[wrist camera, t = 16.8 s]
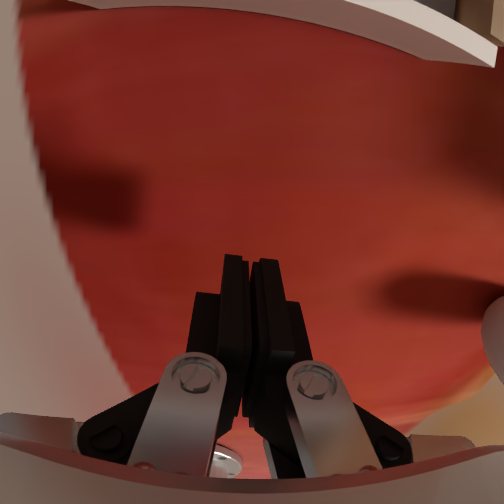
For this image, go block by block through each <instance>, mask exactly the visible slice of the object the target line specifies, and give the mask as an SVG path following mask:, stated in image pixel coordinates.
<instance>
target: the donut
mask: <svg viewBox="0 0 504 504" xmlns="http://www.w3.org/2000/svg"><path fill="white" fill-rule="evenodd" d="M481 337H482V342H483V347H484V351H485V353H486V355H487V358H488V360H489V362H490V365H491V366H492V368H493V370H494V371H495V373H496V374H497V376H498V377H499V379H500V381H501V382H502V383H503V384H504V296H502V297H500V298H498V299H496V300H495V301H494V302H493V303H492V304H491V305H490V306H489V307H488V308H487V309H486V311H485V313H484V317H483V322H482V327H481Z"/></svg>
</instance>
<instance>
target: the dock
mask: <svg viewBox="0 0 504 504" xmlns="http://www.w3.org/2000/svg"><path fill="white" fill-rule="evenodd" d="M453 20H454V21H456V22H458V23H460V24H461V25H463V26H465V27H467V28H468V29H470V30H472V31H473V32H475V33H477V34H478V35H480V36H482V37H483V38H485V39H486V40H488V41H489V42H491V43H492V44H494V45H495V46H501V47H504V0H456V3H455V12H454V19H453Z"/></svg>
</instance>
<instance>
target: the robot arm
mask: <svg viewBox="0 0 504 504" xmlns="http://www.w3.org/2000/svg"><path fill="white" fill-rule="evenodd" d="M241 398H242V416H243V417H249V427H254V430H255V431H256V432H257V433H258V434H260V435H261V436H262V437H263V446H264V450H265V454H266V458H267V462H268V466H269V470H270V474H271V478H272V479H233V478H232V477H234V476H236V475H238V474H239V473H240V472H241V470H242V460H241V458H240V457H239V456H238V455H237V454H236V453H234V452H233V451H231V450H229V449H227V448H225V447H222V446H219V445H217V439H218V438H220V437H221V436H223V435H224V434H225V433H227V432H228V431H229V430H231V428H232V423H233V419H234V417H237V415H238V411H239V407H240V403H241ZM0 504H504V445H489V446H483V447H475V445H474V444H473V443H472V442H471V440H469V439H467V438H466V437H462V436H434V435H433V436H432V435H413V434H411V435H410V436H409V437H405V436H404V435H403V434H402V433H400V432H399V431H398V430H396V429H394V428H393V427H391V426H389V425H388V424H386V423H385V422H383V421H381V420H380V419H378V418H377V417H375V416H374V415H372V414H370V413H369V412H367V411H366V410H364V409H363V408H361V407H360V406H358V405H356V404H355V403H353V402H352V400H351V398H350V396H349V394H348V392H347V389H346V387H345V385H344V383H343V381H342V379H341V377H340V376H339V374H338V373H337V372H336V371H335V370H334V369H333V368H332V367H330V366H328V365H326V364H325V363H322V362H318V361H313V358H312V353H311V349H310V344H309V340H308V336H307V332H306V327H305V323H304V319H303V315H302V311H301V306H300V304H299V302H294V301H286V299H285V293H284V288H283V283H282V278H281V273H280V268H279V263H278V260H274V259H265V258H260V261H259V262H253V265H252V271H251V276H250V282H249V262H248V261H242V256H238V255H230V254H225V258H224V266H223V274H222V283H221V291H220V294H212V293H203V292H196V296H195V302H194V307H193V313H192V319H191V325H190V331H189V337H188V343H187V349H186V353H183V354H180V355H178V356H176V357H174V358H173V359H172V360H170V362H169V363H168V365H167V366H166V368H165V370H164V373H163V375H162V377H161V380H160V382H159V383H157V384H155V385H154V386H152V387H150V388H148V389H146V390H144V391H142V392H140V393H139V394H137V395H135V396H133V397H131V398H129V399H127V400H125V401H124V402H121V403H119V404H117V405H115V406H113V407H111V408H109V409H107V410H105V411H104V412H101V413H100V414H97V415H95V416H93V417H92V418H90V419H88V420H87V421H86V422H75V420H74V419H73V418H60V417H48V416H37V415H28V414H19V413H4V414H1V415H0Z"/></svg>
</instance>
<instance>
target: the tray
mask: <svg viewBox="0 0 504 504" xmlns="http://www.w3.org/2000/svg"><path fill="white" fill-rule="evenodd" d="M69 1H73V2H77V3H80V4H84V5H88V6H91V7H95V8H98V9H108V8H121V7H138V6H191V7H209V8H222V9H232V10H241V11H249V12H256V13H263V14H269V15H275V16H281V17H286V18H291V19H296V20H301V21H306V22H310V23H314V24H319V25H323V26H327V27H331V28H334V29H338V30H342V31H345V32H349V33H352V34H355V35H359V36H362V37H365V38H368V39H371V40H374V41H377V42H380V43H383V44H386V45H388V46H391V47H394V48H396V49H399V50H402V51H404V52H407V53H409V54H412V55H414V56H417V57H419V58H421V59H424V60H433V61H445V62H455V63H464V64H471V65H478V66H485V67H491V68H494V67H495V61H496V55H497V48H498V47H497V46H495V45H494V44H492V43H491V42H489V41H488V40H486V39H485V38H483V37H482V36H480V35H478V34H477V33H475V32H473V31H472V30H470V29H468V28H467V27H465V26H463V25H461V24H460V23H458V22H456V21H454V20H453V19H454V12H455V3H456V0H69Z"/></svg>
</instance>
